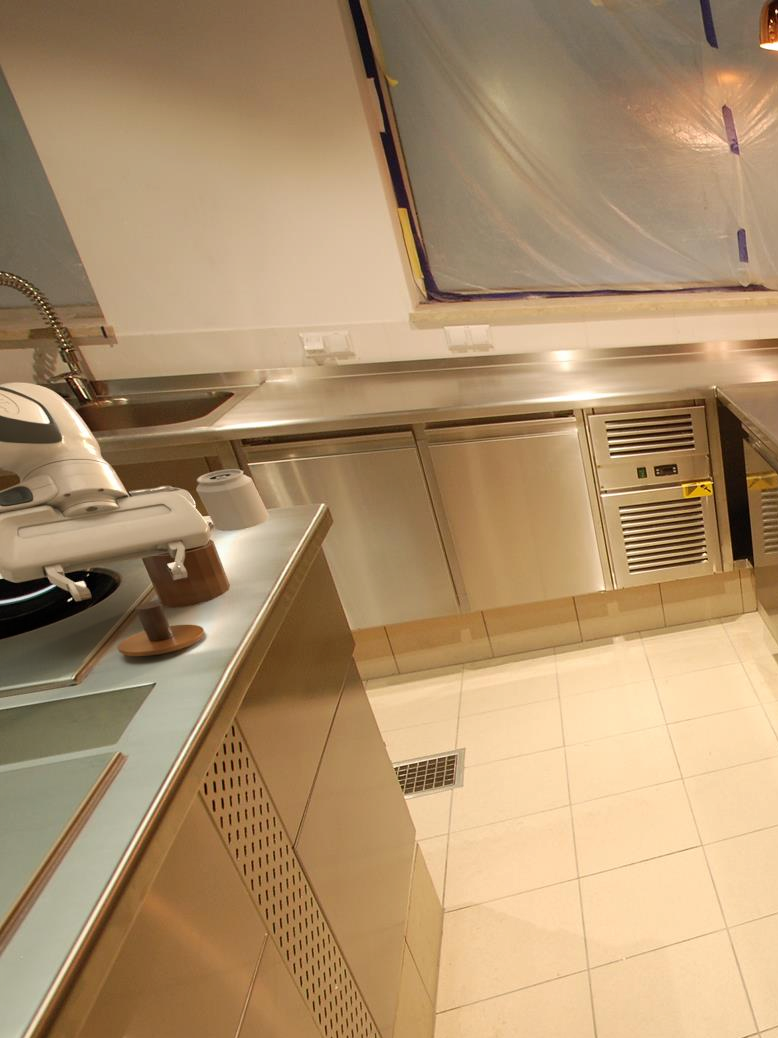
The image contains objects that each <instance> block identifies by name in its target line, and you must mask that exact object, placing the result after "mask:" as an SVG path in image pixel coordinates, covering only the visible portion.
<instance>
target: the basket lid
mask: <svg viewBox="0 0 778 1038" xmlns="http://www.w3.org/2000/svg"><path fill="white" fill-rule="evenodd" d="M135 611H136V613H137V615H138V618H139V620H140V623H141V625H142V627H143V629H144V631H142V632H138V633H135V634H133V635H131V636H129V637H127V638H125V639H123V640H122V641H120V642H119V643H118V644H117V649H118V652H119V653H120V654H122V656H123V655H124V656H128V657H146V656H158V655H164V654H165V655H166V654H168V653H172V652H176V651H179V650H182V649H185V648H186V647H189V646H191V645H194V644H196V643H198V642H200V641H201V640H202V639H203V638H205V635H206V632H205V629H204V628H203V626H200V625H197V624H175V625H170V623H169V620H168V618H167V615H166V614H165V611H164V607H163V605H162V604H161V603H160V601H151V602H145V603H141V604H139V605H136V606H135Z"/></svg>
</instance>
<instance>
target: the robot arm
mask: <svg viewBox="0 0 778 1038" xmlns="http://www.w3.org/2000/svg"><path fill="white" fill-rule="evenodd" d="M101 453H102V451H101V447H100V445H99V443H98V440H97V439H96V437H95V436H94V434H93V432H92V431H91V429H90V428H89V426H88V425H87V424H86V422H85V421H84V419H83V418H82V417H81V416H80V414H79V413H78V412H77V411H76V409H75V408H73V406H72V405H71V404H69V402H68V401H66V399H64V397H62V396H61V395H59V393H57V392H55V391H54V390H52V389H51V388H48V387H45V386H43V385H38V384H35V383H30V382H18V381H16V382H6V383H1V384H0V471H6V472H11V473H14V474H15V475H17V476H18V478H19V481H20V482H19V483H17V484H15V485H13V486H10V487H7V488H5V489H2V490H0V576H1V578H2V579H3V580H6V581H8V582H11V583H16V584H18V583H24V582H28V581H33V580H38V579H39V580H40V579H43V578H47V579H48V580H49V583H50V584H51V585H54V586H56V587H58V588H60V589H62V590H64V591H65V592H69V593H70V595H71V596H72V599H74V601H75V602H81V601H85V600H90V599H92V598H93V597H92V592H91V591H90V589H89V588H88V587H87V583H86V582H85V581H84V580H79V581H76V582H75V581H73V580H71V579H70V578H68V577H66V575H65V574H68V573H74V572H78V571H84V570H88V569H89V570H90V569H94V568H99V567H103V566H109V565H113V564H119V563H125V562H129V561H134V560H139V559H142V558H145V557H150V556H155V555H160V554H165V553H169V554H170V555H171V557H172V558H175V561H174V562H172V563H168V564H167V567H168V568H167V571H168V573H169V574H170V575H171V578H172V579H173V580H177V579H182V578H187V577H188V576H187V571H186V569H185V567H184V565H183V563H184V559H185V549H190V548H195V547H200V546H205V545H206V544H207V543H208V541H209V539H210V540H211V535H212V534H211V528H210V525H209V523H208V522H207V521H206V519H205V518H204V516H203V515H202V513H200V511H199V510H198V509H197V508H196V507H197V503H196V501H195V500H194V497H193V496H192V494H191V493H190V492H189V491H188V490H186V489H184V488H180V487H172V486H171V485H160V486H157V487H151V488H140V489H133V490H126V488H125V486H124V484H123V483H122V481H121V479H120V477H119V476H118V474H117V473H116V471H115V469H114V468H113V467H112V466H111V464H110V463H108V462H107V460H105V459H104V457H103V456H102V454H101Z"/></svg>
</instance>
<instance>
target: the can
mask: <svg viewBox="0 0 778 1038" xmlns="http://www.w3.org/2000/svg"><path fill="white" fill-rule="evenodd" d="M196 482H197V483H198V484H197V486H196V488H195V491H196V493H197V495H198V497H199V499H200V500H201V502H202V504H203V506H204V509H205V510H206V512H207V515H208V516H209V518H210V520H211V522H212V524H213V525H214V527H215V529H216V530H217V531H224V532H225V531H238V530H244V529H249V528H252V527H255V526H258V525H260V524H263V523H264V522H267V521H268V519H270V515H269V512H268V510H267V508H266V506H265V504H264V501H263V500H262V497H261V495H260V494H259V491H258V489H257V487H256V485H255V483H254V481H253V479H252V478H251V477H250V476H247V475H246V474H244V470H241V469H238V468H228V469H220V470H215V471H211V472H207V473H205V474H202V475H200V476H199V477H197V478H196Z"/></svg>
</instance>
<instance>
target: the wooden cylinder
mask: <svg viewBox="0 0 778 1038" xmlns="http://www.w3.org/2000/svg"><path fill="white" fill-rule="evenodd" d="M141 560H142V562H143V564H144V567H145V569H146V572H147V574H148V577H149V579H150V581H151V585H152V586H153V589H154V591H155V594H156V596H157V599H158V602H159V603H161V606H162V607H163V608H169V609H176V608H186V607H192V606H195V605H200V604H203V603H207V602H210V601H212V600H214V599H216V598H218V596H219V597H221V596H222V595H224V594H226V592H228V591H229V590H230V588H231V587H230V586H231V584H230V582H229V579H228V577H227V574H226V571H225V568H224V566H223V563H222V561H221V558H220V555H219V553H218V550H217V546H216V544H215V541H214V540H213V539H211V538H210V539H209V541H208V543H207V544H206V545H205V546H200V547H195V548H190V549H185V559H184V563H183V565H184V567H185V569H186V571H187V576H188V577H187V578H182V579H177V580H173V579H172V578H171V575H170V574H169V573H168V571H167V568H168V567H167V564H168V563H172V562H174V561H175V558H172V557H171V555H170V554H169V553H165V554H160V555H155V556H150V557H145V558H141Z"/></svg>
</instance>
